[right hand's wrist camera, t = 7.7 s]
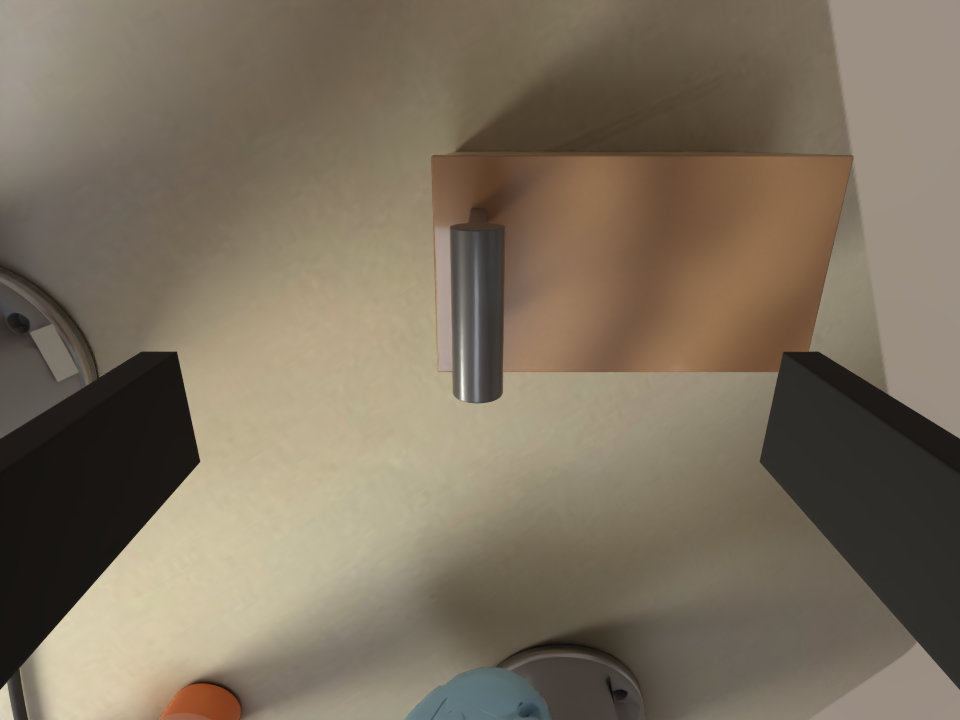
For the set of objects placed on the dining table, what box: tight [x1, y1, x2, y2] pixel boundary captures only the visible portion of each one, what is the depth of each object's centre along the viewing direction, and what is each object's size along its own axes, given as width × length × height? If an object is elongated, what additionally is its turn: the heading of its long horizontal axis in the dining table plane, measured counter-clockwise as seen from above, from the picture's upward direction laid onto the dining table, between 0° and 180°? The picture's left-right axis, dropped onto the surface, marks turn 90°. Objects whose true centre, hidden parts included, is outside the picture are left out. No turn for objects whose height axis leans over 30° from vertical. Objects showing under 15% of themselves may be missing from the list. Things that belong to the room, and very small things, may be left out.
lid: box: [431, 155, 853, 403], centre depth 22 cm, size 18×10×9 cm, turn 90°
